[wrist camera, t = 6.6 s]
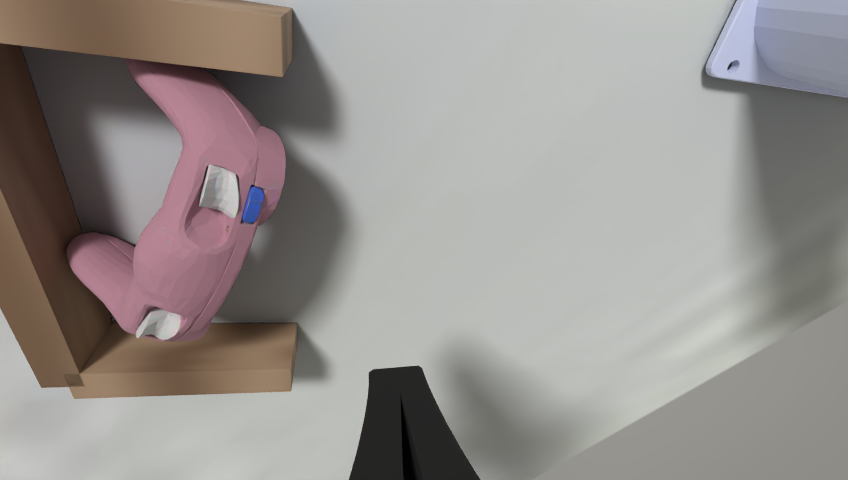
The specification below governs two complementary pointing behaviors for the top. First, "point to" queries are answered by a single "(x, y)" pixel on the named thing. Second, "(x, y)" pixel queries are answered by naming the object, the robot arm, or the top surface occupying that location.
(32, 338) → the docking bay
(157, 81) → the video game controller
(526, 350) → the top surface
